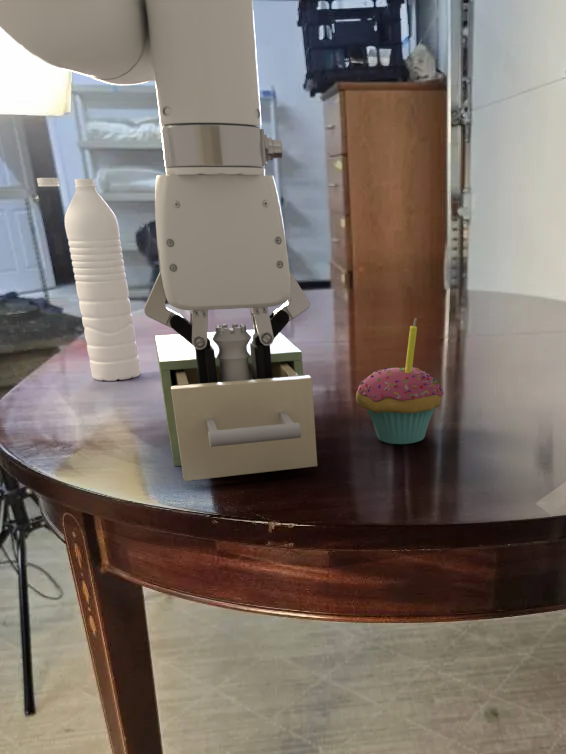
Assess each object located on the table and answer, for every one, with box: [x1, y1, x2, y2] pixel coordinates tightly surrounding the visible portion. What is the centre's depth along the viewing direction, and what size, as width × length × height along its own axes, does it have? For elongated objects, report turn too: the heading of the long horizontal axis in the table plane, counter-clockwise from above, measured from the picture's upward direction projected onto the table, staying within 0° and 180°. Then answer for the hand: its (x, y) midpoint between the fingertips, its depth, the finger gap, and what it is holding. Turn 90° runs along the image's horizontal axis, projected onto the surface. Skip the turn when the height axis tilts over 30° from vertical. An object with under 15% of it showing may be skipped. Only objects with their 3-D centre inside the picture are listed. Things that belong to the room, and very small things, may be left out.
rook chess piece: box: [212, 323, 252, 382], centre depth 66 cm, size 4×4×8 cm
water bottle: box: [36, 177, 142, 382], centre depth 102 cm, size 9×6×25 cm
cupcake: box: [355, 317, 444, 445], centre depth 76 cm, size 9×8×12 cm
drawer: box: [171, 362, 318, 482], centre depth 68 cm, size 19×11×8 cm, turn 18°
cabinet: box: [154, 329, 304, 467], centre depth 77 cm, size 15×13×10 cm
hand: (236, 389), depth 67 cm, fingers closed on rook chess piece, 3 cm apart
